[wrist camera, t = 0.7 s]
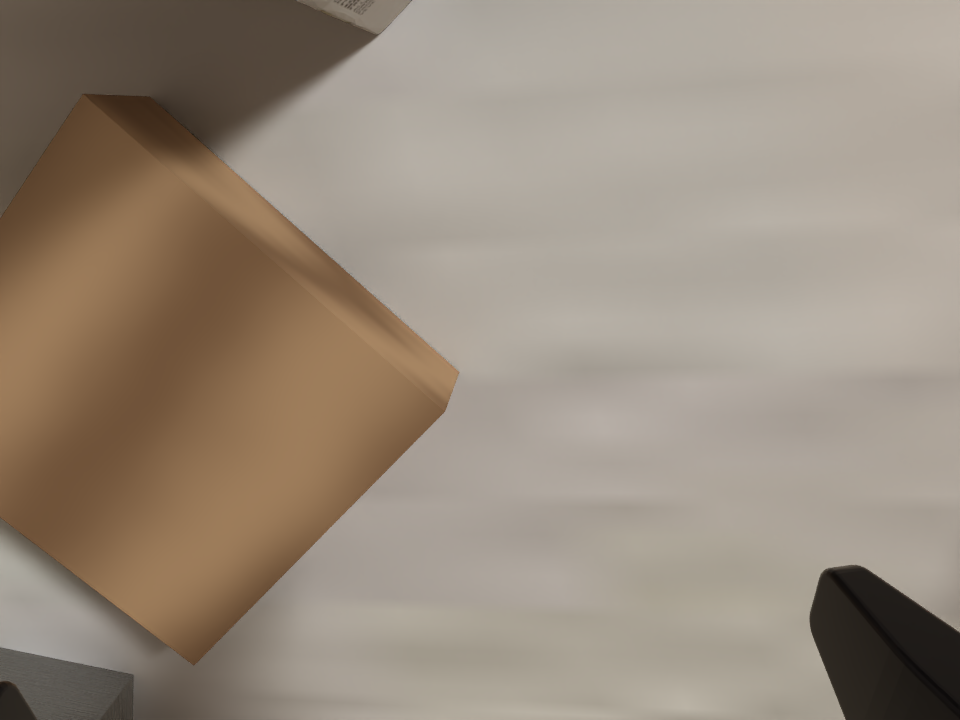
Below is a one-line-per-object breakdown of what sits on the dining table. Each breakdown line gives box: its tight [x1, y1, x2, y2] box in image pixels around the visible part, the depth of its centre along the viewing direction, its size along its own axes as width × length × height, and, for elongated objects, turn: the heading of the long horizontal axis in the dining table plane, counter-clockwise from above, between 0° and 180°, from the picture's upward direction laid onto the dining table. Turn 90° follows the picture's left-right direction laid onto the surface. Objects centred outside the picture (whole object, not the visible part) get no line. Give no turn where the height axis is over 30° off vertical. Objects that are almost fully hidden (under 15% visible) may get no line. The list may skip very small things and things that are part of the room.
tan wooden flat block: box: [0, 94, 459, 665], centre depth 21 cm, size 11×11×3 cm
